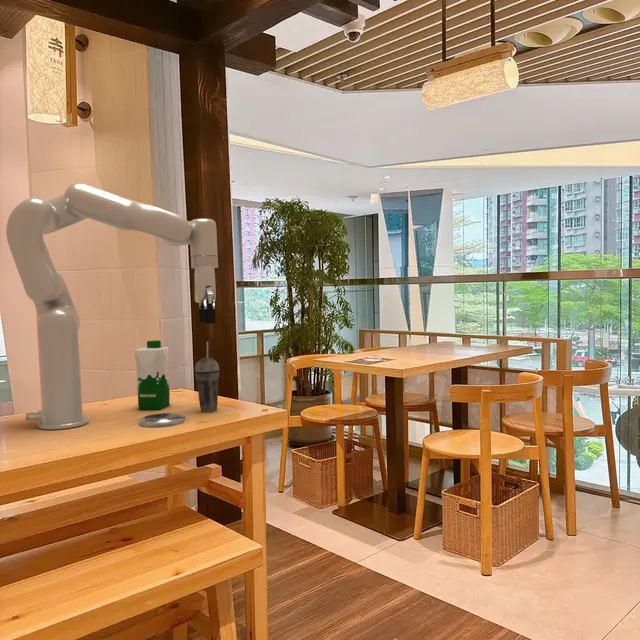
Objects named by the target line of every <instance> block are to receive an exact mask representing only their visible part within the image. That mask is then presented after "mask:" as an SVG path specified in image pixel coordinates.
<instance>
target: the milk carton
mask: <svg viewBox="0 0 640 640" xmlns="http://www.w3.org/2000/svg"><path fill="white" fill-rule="evenodd" d="M161 342H162V341H161V340H156V339H155V340H148V341H146V347H141V348H137V349H135V350H133V351H134V358H135V363H136V367H135V368H136V380H137V381H136V384H137V387H136V388H137V405H138V406H137V408H138V411H157V410H158V411H161V410H163V409H165V408H167V407H169V406H170V398H171V397H170V375H169V371H170V370H169V347H168V346H162V343H161Z"/></svg>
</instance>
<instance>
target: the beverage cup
mask: <svg viewBox="0 0 640 640" xmlns="http://www.w3.org/2000/svg"><path fill="white" fill-rule="evenodd" d="M220 372H221V370H220V365H219V363H218V362H217V361H216V360H215V359H214V358H213V357H209V341H206V357H202V358H200V359H199V360H198V361H197V362H196V363H195V367H194V376H195V380H196V385H197V392H198V393H197V394H198V402H199V407H200V412H201V413H203V412H210V413H215V412H217V410H218V395H219V378H220ZM214 411H215V412H214Z"/></svg>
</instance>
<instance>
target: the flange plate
mask: <svg viewBox="0 0 640 640" xmlns="http://www.w3.org/2000/svg"><path fill="white" fill-rule="evenodd" d="M186 419H187V418H186V414H183V413H181V412H180V413H178V412H161V413H154V414H153V413H152V414H149V415H144V416H142V417H139V418H138V426H140V425H141V426H140V427H143V426H146V427H145V428H165V427H164V426H166V427H172V425H173V426H177V425H176V424H178V425H180V423H181V424H183V423H185V422H186V421H185V420H186ZM184 421H185V422H184Z"/></svg>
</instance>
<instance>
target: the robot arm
mask: <svg viewBox="0 0 640 640" xmlns="http://www.w3.org/2000/svg"><path fill="white" fill-rule="evenodd" d="M86 219H90V220H93V221H96V222H98V223H101V224H105V225H107V226H110V227H113V228H115V229H119V230H123V231H134V232H140V233H143V234H148V235H152V236H154V237H158V238H160V239H162V240H163V241H164V243H165V244H167V245H169V246H171V247H182V246H189V245H190V247H189V248H190V249H189V250H190V263H191V264H190V265H191V269H194V302H195V303H198V307H199V308H198V318H199V320H198V321H199V322H200V323H204V325H209V324H216V322H217V319H216V306H215V302H216V300H217V299H216V298H217V295H216V292H217V289H216V273H215V269H216V268H219V262H218V261H219V260H218V259H219V258H218V237H217V223H216V221H215V220H214V219H212V218H211V219H210V218H195V219H192V220H190V221H189V220H187V219H186V218H185V217H184V216H183V215H179V214H177V213H175V212H171V211H170V210H169V211H168V210H165V209H163V208H160V207H158V206H153V205H149V204H146V203H143V202H140V201H137V200H134V199H130V198H127V197H124V196H121V195H117V194H115V193H112V192H110V191H107V190H104V189H102V188H99V187H96V186H93V185H90V184H87V183H84V182H74V183H71V184H70V185H68V186H67V188H66V189H65V191H64V194H61V195H59V196H57V197H53V198H50V199H48V200H45V199H43V198H39V197H30V198H26V199H23V200H22V201H21V202H19V203H18V204H17V205H16V206H15V208H13V210H12V211H11V213H10V215H9V216H8V219H7V223H6V228H5V232H6V240H7V244H8V247H9V250H10V252H11V253H10V254H11V256H12V258H13V261H14V265H15V267H16V270H17V272H18V276H19V277H20V280H21V283H22V286H23V289H24V293H25V294H26V295H27V297H28V298H29V299H30V300H31V301H32V302H33V305H34V307H35V309H36V311H37V315H38V316H39V319H38V320H37V321H38V322H37V338H38V346H39V355H40V356H39V358H40V370H41V383H42V385H41V387H42V405H43V407H42V409H41V410H38V412H37V411H36V412H25V421H37V420H38V421H39V422H38V423H37V427H38V429H41V430H66V429H71V428H76V427H81V426H84V425H86V424H88V423H89V422H90V417H89V416H87V415H83V413H84V412H83V397H82V380H81V379H82V378H81V377H82V376H81V364H80V361H81V360H80V345H79V333H78V332H79V329H80V324H81V323H80V317H79V314H78V312H77V309H76V306H75V305H74V302H73V299H72V297H71V294H70V292H69V289H68V287H67V284H66V281H65V279H64V278H63V276H62V275H61V274H60V273H59V272H58V271H57V270H56V268H55V265H54V264H53V261H52V258H51V256H50V253H49V250H48V248H47V245H46V242H45V240H44V235H47V234H48V235H49V234H52V233H55V232H57V231H61V230H63V229H65V228H68V227H70V226H72V225H75V224H78V223H80V222H82V221H85V220H86Z"/></svg>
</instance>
